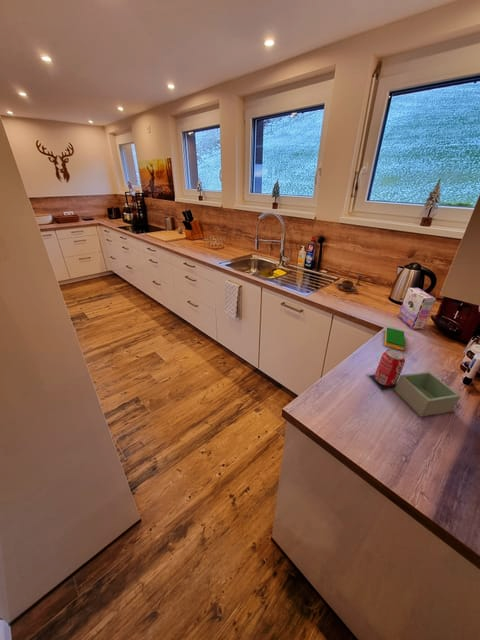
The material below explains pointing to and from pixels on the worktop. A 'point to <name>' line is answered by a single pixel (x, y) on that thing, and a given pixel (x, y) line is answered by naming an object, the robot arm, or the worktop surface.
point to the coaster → (381, 384)
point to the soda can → (390, 367)
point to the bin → (426, 393)
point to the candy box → (416, 308)
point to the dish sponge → (394, 338)
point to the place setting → (348, 285)
